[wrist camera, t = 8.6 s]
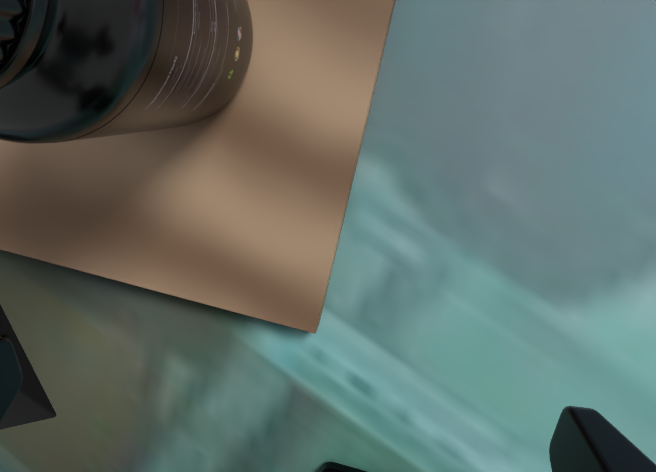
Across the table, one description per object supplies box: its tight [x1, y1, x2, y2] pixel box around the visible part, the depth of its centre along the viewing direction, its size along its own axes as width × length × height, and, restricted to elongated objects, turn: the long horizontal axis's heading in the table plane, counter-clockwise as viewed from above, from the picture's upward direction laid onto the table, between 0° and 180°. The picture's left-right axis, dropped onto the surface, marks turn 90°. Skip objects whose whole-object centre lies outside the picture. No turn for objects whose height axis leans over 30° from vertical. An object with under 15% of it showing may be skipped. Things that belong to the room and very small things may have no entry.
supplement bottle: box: [0, 0, 253, 144], centre depth 13 cm, size 7×7×12 cm
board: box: [0, 0, 395, 334], centre depth 20 cm, size 16×16×1 cm
